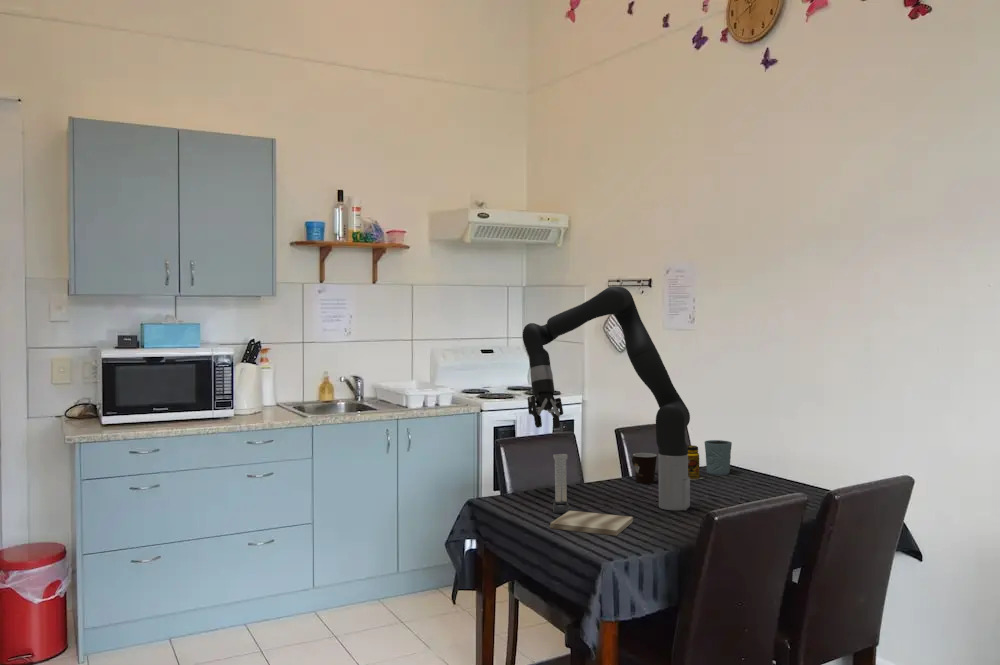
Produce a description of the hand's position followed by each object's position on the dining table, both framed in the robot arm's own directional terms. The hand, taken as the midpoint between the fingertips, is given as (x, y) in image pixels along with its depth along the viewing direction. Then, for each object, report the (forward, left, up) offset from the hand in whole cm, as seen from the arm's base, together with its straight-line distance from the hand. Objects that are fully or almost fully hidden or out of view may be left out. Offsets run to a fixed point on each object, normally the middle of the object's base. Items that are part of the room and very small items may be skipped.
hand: (548, 427), depth 268 cm
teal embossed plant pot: (-44, -65, -24) cm, 82 cm away
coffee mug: (-22, -39, -24) cm, 51 cm away
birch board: (-24, +26, -24) cm, 43 cm away
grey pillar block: (-10, +15, -24) cm, 30 cm away
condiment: (-36, -52, -24) cm, 68 cm away
